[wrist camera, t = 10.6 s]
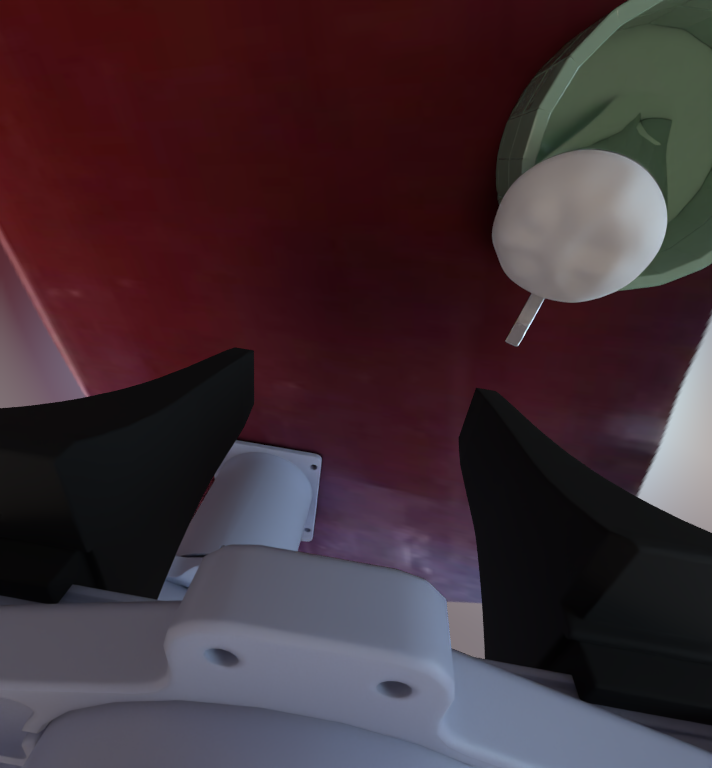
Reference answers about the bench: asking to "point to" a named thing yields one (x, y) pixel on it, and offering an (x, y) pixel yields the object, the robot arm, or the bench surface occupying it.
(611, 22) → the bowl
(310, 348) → the bench surface
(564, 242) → the milkshake cup
